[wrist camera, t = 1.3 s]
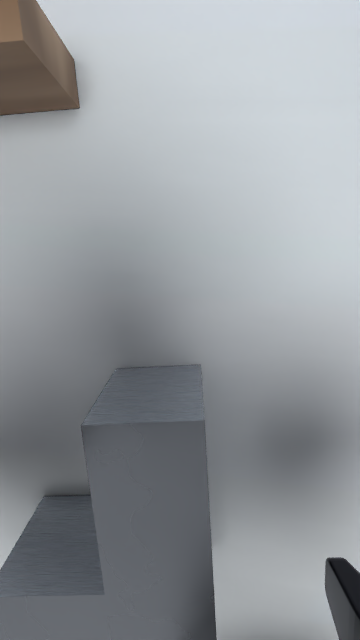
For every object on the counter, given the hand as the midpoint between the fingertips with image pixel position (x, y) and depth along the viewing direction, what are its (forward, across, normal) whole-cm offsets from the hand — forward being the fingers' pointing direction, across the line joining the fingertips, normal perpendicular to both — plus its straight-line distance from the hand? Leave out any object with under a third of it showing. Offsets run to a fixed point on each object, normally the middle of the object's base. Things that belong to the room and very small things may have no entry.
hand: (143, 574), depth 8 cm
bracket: (+6, +2, +1) cm, 7 cm away
